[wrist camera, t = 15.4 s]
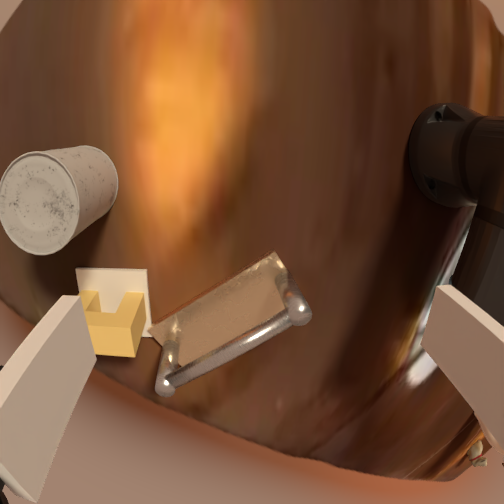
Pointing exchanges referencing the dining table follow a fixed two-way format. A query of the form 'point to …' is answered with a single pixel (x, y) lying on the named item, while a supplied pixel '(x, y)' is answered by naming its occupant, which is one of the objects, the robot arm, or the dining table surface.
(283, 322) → the rail stand
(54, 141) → the dining table surface
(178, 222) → the dining table surface
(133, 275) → the coaster
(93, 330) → the c link
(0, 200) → the grey speckled cylinder
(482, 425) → the water bottle
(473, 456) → the chocolate bunny
